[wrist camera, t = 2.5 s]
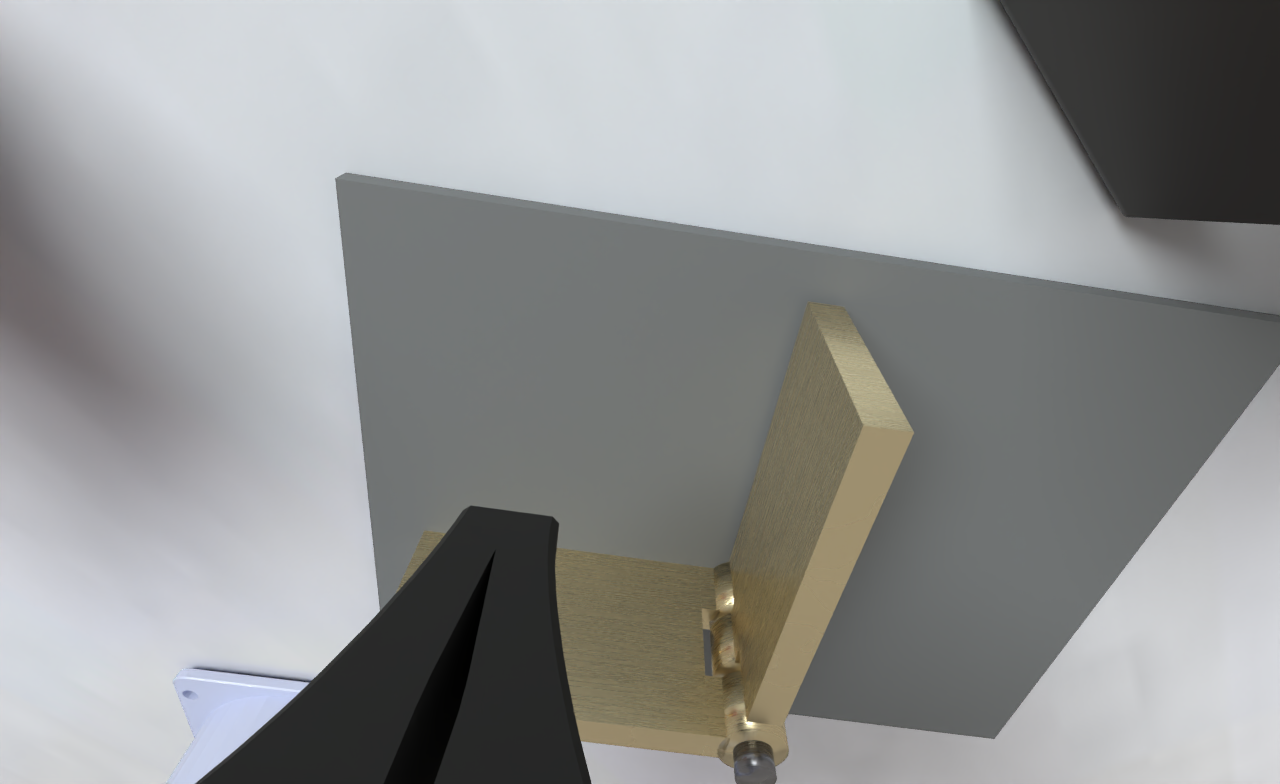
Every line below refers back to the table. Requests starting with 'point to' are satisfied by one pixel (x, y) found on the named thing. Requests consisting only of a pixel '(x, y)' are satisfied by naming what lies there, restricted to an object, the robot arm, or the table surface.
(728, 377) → the hinge mat
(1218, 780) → the table surface
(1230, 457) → the table surface
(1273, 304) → the table surface
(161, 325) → the table surface
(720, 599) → the fixed leaf
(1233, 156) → the phone stand
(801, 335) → the loose leaf
